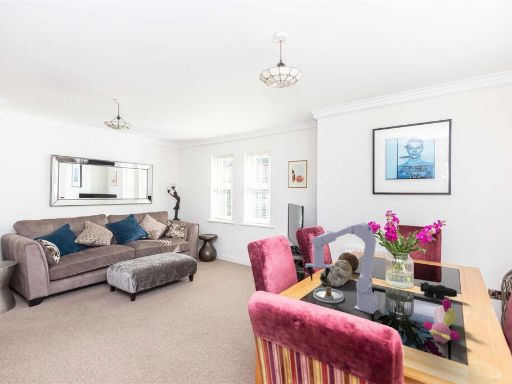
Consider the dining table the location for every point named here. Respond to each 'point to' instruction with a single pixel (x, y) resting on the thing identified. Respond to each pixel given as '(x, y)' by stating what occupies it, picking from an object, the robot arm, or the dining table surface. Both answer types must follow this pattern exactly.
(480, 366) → the dining table surface
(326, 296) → the gear
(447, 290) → the night vision scope
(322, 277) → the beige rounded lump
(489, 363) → the dining table surface
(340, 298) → the carrier plate
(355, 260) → the wooden sphere
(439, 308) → the toy
